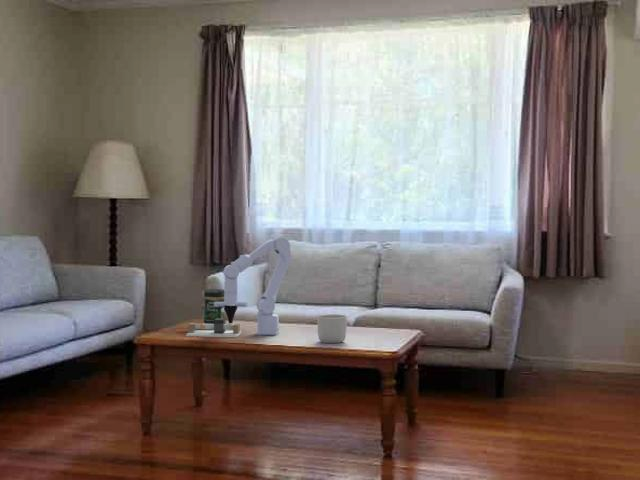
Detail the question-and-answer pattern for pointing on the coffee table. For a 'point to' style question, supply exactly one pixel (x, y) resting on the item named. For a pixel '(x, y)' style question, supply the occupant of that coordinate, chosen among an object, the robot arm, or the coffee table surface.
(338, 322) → the planter
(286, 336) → the coffee table surface
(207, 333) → the rail
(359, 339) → the coffee table surface
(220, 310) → the coffee jar
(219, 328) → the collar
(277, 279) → the robot arm
